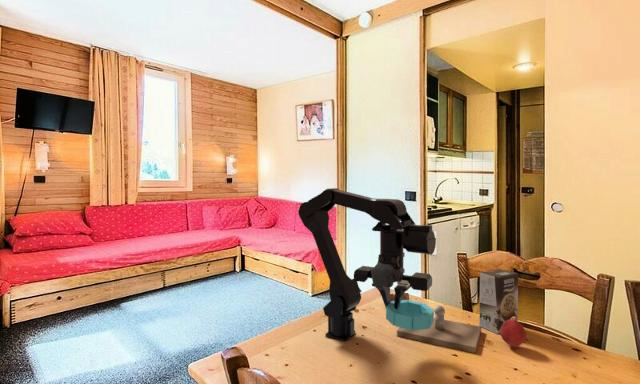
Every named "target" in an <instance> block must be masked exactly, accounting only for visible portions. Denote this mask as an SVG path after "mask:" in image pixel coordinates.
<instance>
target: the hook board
mask: <svg viewBox="0 0 640 384" xmlns="http://www.w3.org/2000/svg"><path fill="white" fill-rule="evenodd" d="M433 310H434V318H433V324H432V325H431V327H430V328H429V329H422V330H409V329H405V328H401V327H398V329H396V336H397V337H402V338H405V339H410V340H414V341H417V342H418V341H419V342H423V343H428V344H431V345H436V346H441V347H445V348H450V349H455V350H458V351H459V350H460V351H464V352H468V353H472V354H473V353H474V354H476V353H477V349H478V346H479V345H478V344H479V341H480V338H481V334H482V327H480V326H479V325H474V324H468V323H464V322H457V321H453V320H448V319H445V313H446V310H445V308H444V307H443V306H442V305H436V306H435V308H434V309H433Z"/></svg>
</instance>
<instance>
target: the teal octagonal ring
mask: <svg viewBox="0 0 640 384" xmlns="http://www.w3.org/2000/svg"><path fill="white" fill-rule="evenodd" d="M394 302H395V301H391V302H390V303H389V304H388V305H387V306H386V307H385V310H386V311H385V319H386V320H387V321H388V322H389V323H390V324H391V325H392V326H394V327H397V328H399V327H401V328H405V329H409V330H422V329H429V328H430V327H431V325H432V324H433V318H435V311H434V309H433V308H432V307H431V306H429V305H427V304H426V303H423V302H420V301H414V300H410V299H409V300H408V301H407V300H401V303H400V305H399V308H398V310H396V309H395V308H394Z"/></svg>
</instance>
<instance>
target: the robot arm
mask: <svg viewBox="0 0 640 384" xmlns="http://www.w3.org/2000/svg"><path fill="white" fill-rule="evenodd" d="M336 205H337V206H341V207H343V208H344V207H345V208H347V209H352V210H356V211H359V212H362V213H366V214H367V215H369V216H370V217H371V218H372V219H374V220H376V221H378V222H377V224H375V226H373V227H372V228H371V230H372V231H373V232H379V240H380V241H379V242H380V243H379V249H380V251H379V254H378V257H377V258H378V259H377V263H376V265H374V266H368V265H367V266H366V265H361V266H360V267H358V268H356V269H355V270H354V272H353V278H351V277H350V276H349V275H348V274H347V272H346V270H345V268H344V265H343V263H342V260H341V257H340V255H339V254H340V253H339V252H338V249H337V247H336V244H335V242H334V239H333V237H332V234H331V231H330V229H329V222H330V216H329V211H331V210H333V208H334V207H335V206H336ZM297 212H298V217H299V219H300V220H301V222H302V224H303V226H304V227H305V228H306V229H307V230H308V231H309V232H310V233H311V234H312V236H313V239H314V241H315V244H316V247H317V250H318V252H319V255H320V257H321V260H322V264H323V265H324V269H325V271H326V274H327V277H328V279H329V289H328V294H329V298H330V301H328V302H327V304H325V305H324V306H323V308H322V309H323V312H324V316H325V317H327V329H328V330H327V332H326V333H325V337H328V338H331V339H335V340H339V341H344V342H347V341H348V340H349V339H350V338H352V336H353V335H354V334H355V333H356V330H355V319H354V318H353V317H354V313H353V311H356V309H357V306H358V305H359V304H361V300H362V294H361V293H362V289H360V286H359V283H358V282H360V283H365V282H367V280H368V279H371V280H372V283H371V286H372V287H374V288H375V289H377V290H378V292H379V294H380V296H381V298H382V301H383V305H384V307H385V308H386V306H387V305H388V304H389V303H390V294H391V287H393V286H394V283H396V284H397V285H396V286H395V287H394V288H393V289H394V294H395V302H394V308H395V309H396V310H398V308H399V305H400V303H401V300H402V297H403V295H404V293H406V292H407V291H408V290H409V289H410V288H411V289H412V290H415V291H422V292H427V291H428V290H430V288H431V287H432V286H433V277H432V275H431V274H430V273H427V272H426V273H424V272H418V271H417V272H416V271H415V273H413V274H412V275H408V274H406V273H405V272H406V271H405V267H404V258H405V252H404V250H405V251H406V252H407V253H416V254H423V255H433V254H434V252H435V249H436V245H437V244H436V243H437V237H436V236H435V232H434V230H433V225H432V224H424V225H422V224H421V225H420V224H416V223H415V222H414V220H413V219H412V217H411V216H410V214H409V212H408V211H407V207H406V205H405V202H404V201H402V200H400V199H398V198H397V199H395V198H373V197H369V196H364V195H361V194H358V193H354V192H353V193H352V192H350V191H346V190H341V189H339V188H338V187H337V188H335V187H334V188H332V187H331V188H325V189H324V190H323V191H321V193H318V194H317V195H316V196H314V197H312V198H310V199H309V200H307V201H305V202H302V203H301V204H300V205H299V208H298V211H297Z"/></svg>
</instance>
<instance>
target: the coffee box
mask: <svg viewBox="0 0 640 384" xmlns="http://www.w3.org/2000/svg"><path fill="white" fill-rule="evenodd" d="M518 306H519V273H518V272H514V271H510V270H504V269H500V268H497V269H494V270H487V271H482V272H481V271H480V273H479V309H478V310H479V311H478V312H479V313H478V315H479V317H478V326H480V327H481V328H483V329H485V330H488V331H490V332H492V333H494V334H496V335H499V334H500V329H501V326H502V324H503V323H504V322H505V321H507V320H509V319H511V318H512V317H516V321H518V319H519V318H518V317H519V315H518V312H519V307H518ZM518 322H519V321H518Z"/></svg>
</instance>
